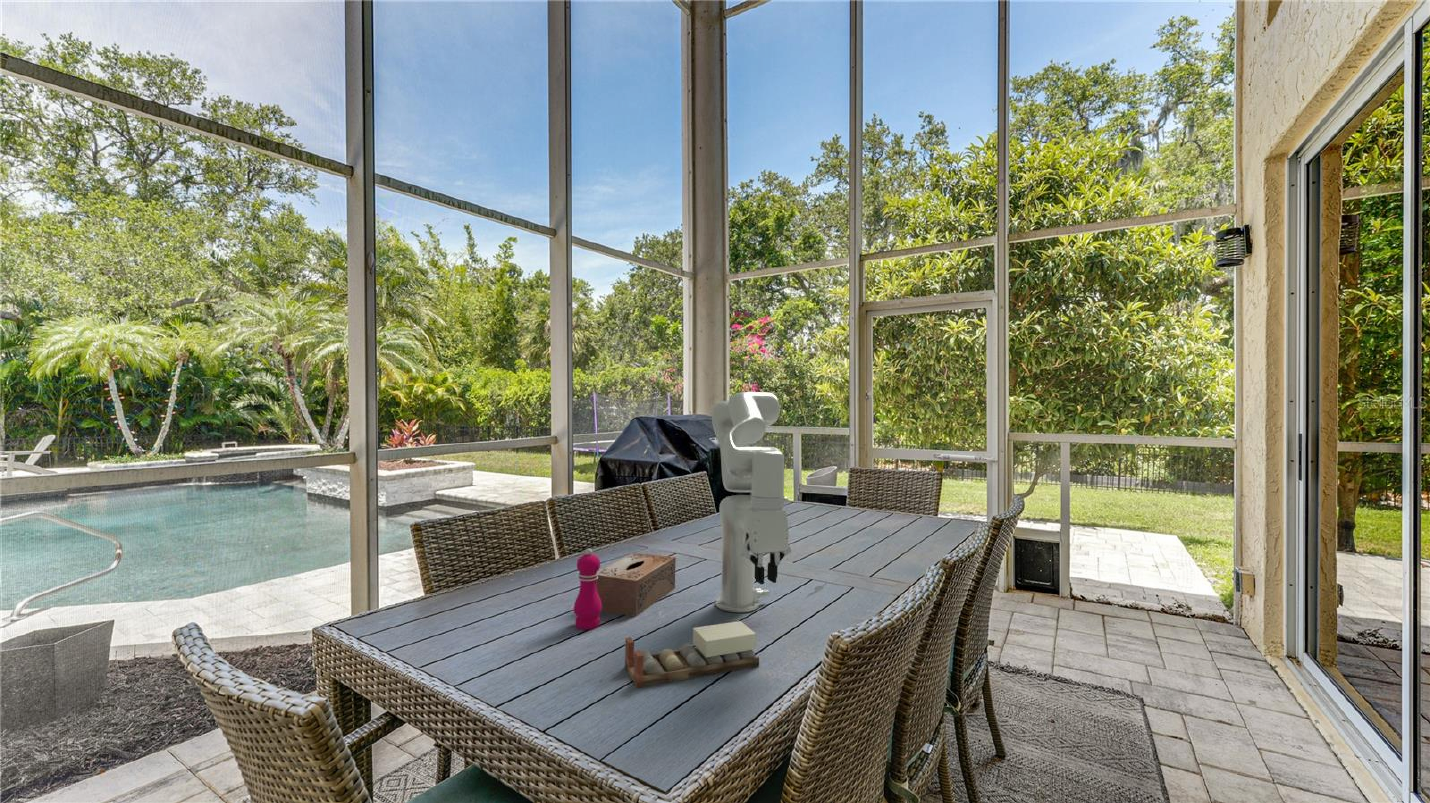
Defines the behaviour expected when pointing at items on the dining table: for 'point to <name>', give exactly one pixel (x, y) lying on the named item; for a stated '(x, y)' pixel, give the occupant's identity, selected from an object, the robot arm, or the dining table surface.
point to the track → (695, 664)
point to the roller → (670, 660)
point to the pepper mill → (588, 592)
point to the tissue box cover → (635, 582)
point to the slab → (724, 639)
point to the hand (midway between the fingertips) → (765, 581)
